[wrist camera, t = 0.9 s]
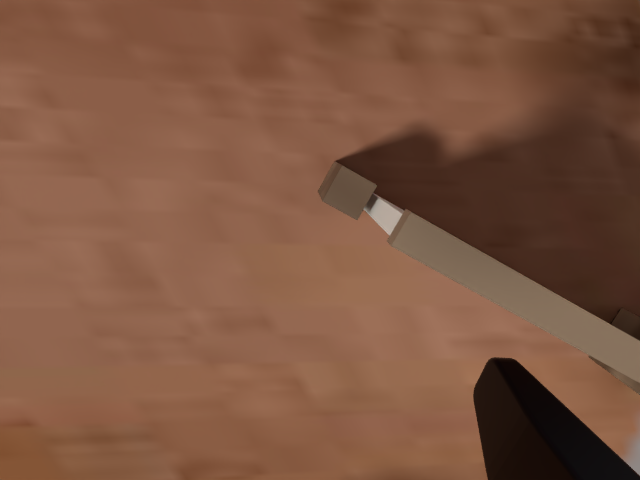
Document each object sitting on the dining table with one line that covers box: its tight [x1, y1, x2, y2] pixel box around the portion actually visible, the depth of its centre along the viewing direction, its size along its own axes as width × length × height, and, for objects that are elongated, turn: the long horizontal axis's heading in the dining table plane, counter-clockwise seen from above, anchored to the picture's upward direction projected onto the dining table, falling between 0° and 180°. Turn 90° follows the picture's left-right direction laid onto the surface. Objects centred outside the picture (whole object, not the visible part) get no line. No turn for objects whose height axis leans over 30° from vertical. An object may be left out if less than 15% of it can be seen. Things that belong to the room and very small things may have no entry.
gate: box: [364, 193, 640, 383], centre depth 22 cm, size 1×14×9 cm, turn 60°
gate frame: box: [318, 161, 640, 395], centre depth 24 cm, size 3×19×4 cm, turn 61°
